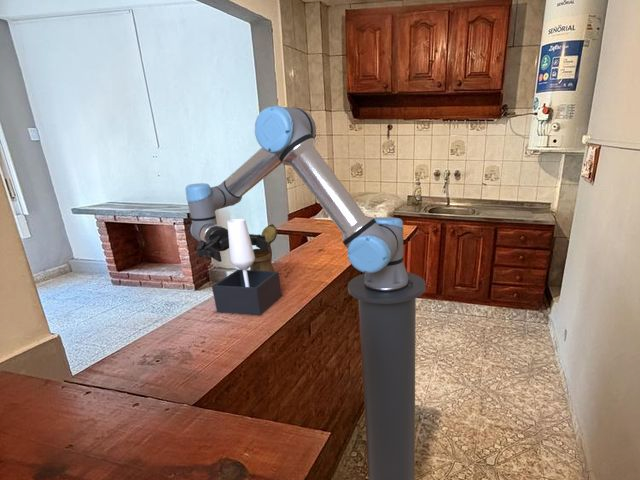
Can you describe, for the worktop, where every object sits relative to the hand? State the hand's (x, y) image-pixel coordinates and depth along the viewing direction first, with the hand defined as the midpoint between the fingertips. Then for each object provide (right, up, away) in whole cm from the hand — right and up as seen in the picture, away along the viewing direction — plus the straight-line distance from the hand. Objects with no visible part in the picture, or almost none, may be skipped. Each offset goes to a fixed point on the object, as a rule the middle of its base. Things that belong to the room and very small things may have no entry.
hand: (243, 251), depth 111 cm
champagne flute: (-1, -14, +7) cm, 16 cm away
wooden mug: (-1, -8, +25) cm, 27 cm away
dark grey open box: (-1, -15, +7) cm, 17 cm away
